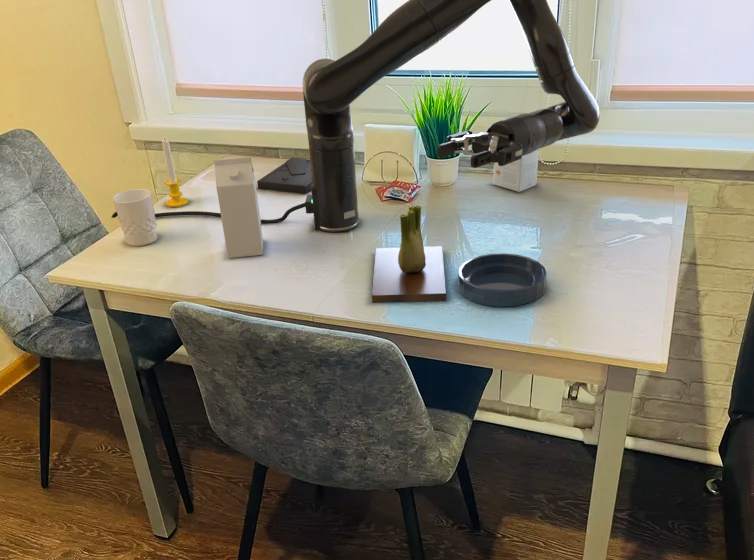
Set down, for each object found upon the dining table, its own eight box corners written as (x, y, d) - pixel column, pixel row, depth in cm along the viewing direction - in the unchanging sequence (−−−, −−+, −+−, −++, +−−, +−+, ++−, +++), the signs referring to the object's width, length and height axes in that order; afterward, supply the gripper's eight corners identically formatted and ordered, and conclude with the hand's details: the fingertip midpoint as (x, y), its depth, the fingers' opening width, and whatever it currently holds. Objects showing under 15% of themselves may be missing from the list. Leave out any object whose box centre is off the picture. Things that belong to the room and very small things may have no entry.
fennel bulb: (404, 278, 142) (402, 216, 135) (391, 268, 146) (389, 207, 139) (432, 270, 144) (431, 208, 137) (418, 261, 148) (417, 200, 141)
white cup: (167, 235, 170) (158, 190, 165) (145, 249, 164) (135, 204, 159) (138, 230, 173) (128, 187, 168) (116, 245, 167) (104, 200, 162)
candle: (192, 201, 187) (180, 135, 178) (177, 208, 183) (164, 142, 174) (176, 198, 189) (164, 133, 180) (161, 205, 186) (148, 139, 177)
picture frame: (292, 165, 204) (257, 188, 191) (291, 157, 203) (256, 179, 190) (338, 169, 199) (306, 193, 186) (337, 161, 198) (305, 184, 185)
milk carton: (229, 244, 164) (215, 154, 153) (263, 241, 164) (251, 151, 153) (227, 258, 158) (212, 166, 147) (263, 255, 158) (250, 162, 147)
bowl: (460, 309, 134) (461, 292, 133) (456, 270, 147) (456, 254, 145) (550, 306, 133) (552, 290, 131) (538, 268, 146) (539, 252, 144)
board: (372, 302, 138) (371, 295, 137) (376, 255, 155) (375, 248, 154) (446, 301, 137) (446, 293, 136) (442, 253, 154) (442, 246, 153)
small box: (537, 185, 181) (541, 128, 174) (518, 192, 178) (522, 135, 171) (510, 177, 187) (513, 122, 179) (492, 184, 183) (494, 128, 176)
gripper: (489, 109, 151) (427, 128, 143) (547, 123, 141) (485, 144, 133) (487, 148, 155) (427, 168, 147) (544, 164, 145) (483, 186, 137)
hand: (455, 156), depth 140 cm, fingers open, 8 cm apart
